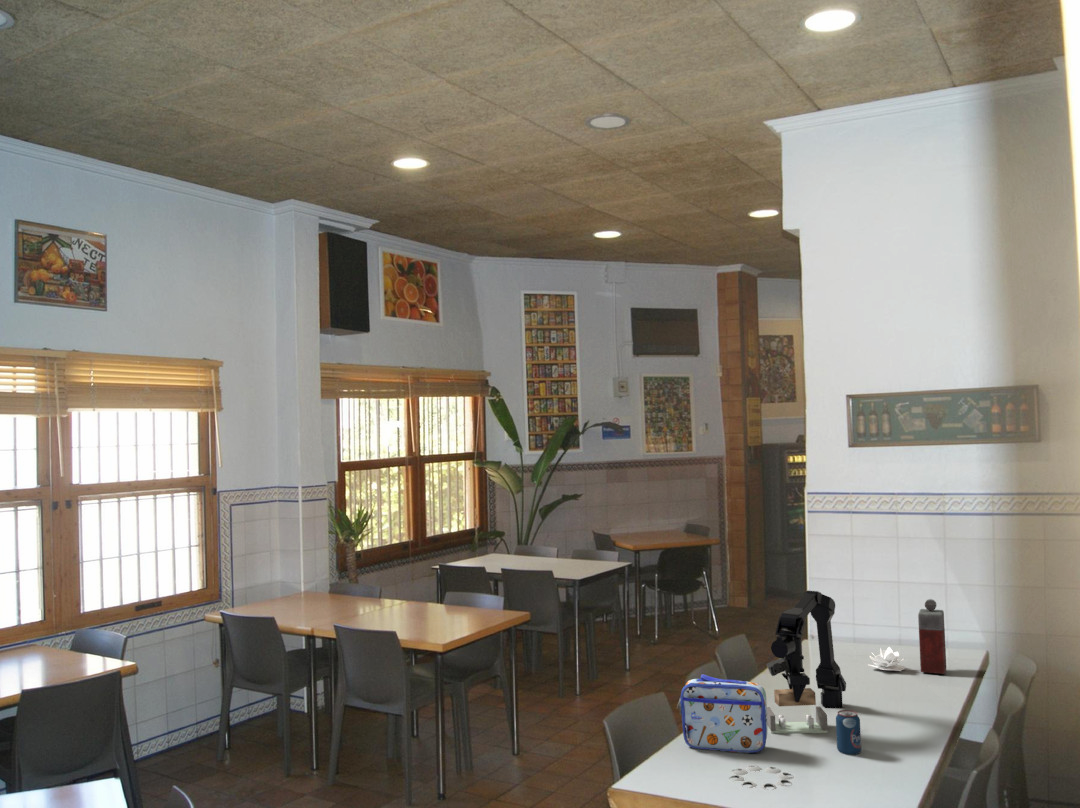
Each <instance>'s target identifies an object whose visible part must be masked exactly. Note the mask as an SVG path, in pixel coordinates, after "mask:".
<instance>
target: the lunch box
mask: <svg viewBox="0 0 1080 808" xmlns="http://www.w3.org/2000/svg"><path fill="white" fill-rule="evenodd" d="M680 692H681V693H680V697H679V699H678V700H679V701H678V703H677V706H676V709H677V710H678V709H679V715H681V723H682V735H683V739H684V742H685V744H686V745H687V747H690V748H692V749H695V748H697V749H696V750H699V749H700V750H706V749H709V751H716V750H720V751H719V752H725V751H730V752H729V753H742V754H743V753H748V754H752V753H760V752H761V751H763V750H764V749H765V747H766V744H767V738H768V727H767V726H768V720H767V707H768V705H767V703H768V702H767V692H766V690H765V688H764V686H762V684H759V683H757V682H751V681H747V680H745V681H744V680H737V679H723V678H716V677H713V676H710V675H707V674H703V673H702V674H701V675H700V678H693V679H689V680H688V681H687V682H686V683H685V685H684V686H683V688H682V689H681V691H680Z"/></svg>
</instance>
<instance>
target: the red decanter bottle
mask: <svg viewBox="0 0 1080 808" xmlns="http://www.w3.org/2000/svg"><path fill="white" fill-rule="evenodd" d="M924 607H925V608H920V609H919V612H918V613H917V614H918V615H917V618H918V622H917V623H918V639H919V640H918V643H919V659H920V660H919V661H920V662H919V664H920V666H919V667H920V673H931V674H941V675H943V674H945V675H946V673H947V654H946V653H947V652H946V650H947V649H946V634H945V633H946V631H945V630H946V629H945V612H944V610H943V609H936V608H937V602H936V601H935V600H934V599H932V598H929V599H926V600H925V602H924Z"/></svg>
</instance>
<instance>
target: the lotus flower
mask: <svg viewBox="0 0 1080 808" xmlns="http://www.w3.org/2000/svg"><path fill="white" fill-rule="evenodd" d="M879 651H880V652H879V654H877V655H875V654H874V653H873V652H871V654H872V655H873V656H872V655H869V658H870V660H872V663H873V664H867V666H869V667H872V668H876V669H879V670H883V671H896V672H898V671H899V672H902V670H906V668H907V666H905V665H900V663H901V662H902V661H904V660H905V658H903V659H901V660H900V655H901V654H900V653H899V651H894V650H893V649H892V648H891V646H888V647H887V648H886V649H882V647H880V648H879Z"/></svg>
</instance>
